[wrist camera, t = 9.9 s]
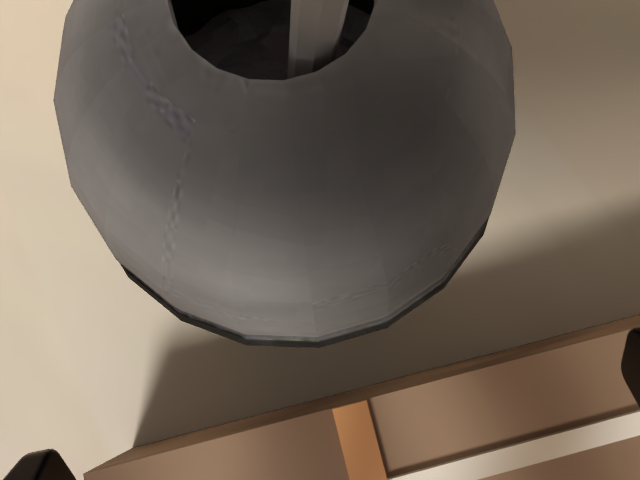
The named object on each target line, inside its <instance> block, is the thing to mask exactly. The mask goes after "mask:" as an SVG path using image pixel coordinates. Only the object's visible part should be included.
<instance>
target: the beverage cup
mask: <svg viewBox="0 0 640 480" xmlns="http://www.w3.org/2000/svg"><path fill="white" fill-rule="evenodd" d="M54 105H55V110H56V115H57V120H58V125H59V130H60V135H61V139H62V144H63V149H64V154H65V159H66V164H67V168H68V173H69V178H70V183H71V187H72V188H73V190H74V192H75V193H76V195H77V197H78V198H79V200H80V201H81V203H82V205H83V206H84V208H85V210H86V211H87V213H88V215H89V216H90V218H91V219H92V221H93V223H94V224H95V226H96V228H97V229H98V231H99V233H100V234H101V236H102V237H103V239H104V241H105V242H106V244H107V246H108V247H109V249H110V250H111V252H112V254H113V255H114V257H115V258H116V260H117V261H119V263H120V264H121V266H122V267H123V269H124V271H125V272H126V274H127V276H128V277H129V278H130V279H131V280H132V281H133V282H135V283H136V284H137V285H138V286H140V287H141V288H142V289H143V290H144V291H146V292H147V293H148V294H149V295H151V296H152V297H153V298H154V299H155V300H157V301H158V302H159V303H160V304H162V305H163V306H164V307H165V308H166V309H168V310H169V311H170V312H171V313H173V314H174V315H175V316H176V317H177V318H179V319H180V320H181V321H183V322H186V323H189V324H191V325H194V326H197V327H199V328H202V329H205V330H207V331H210V332H213V333H216V334H218V335H221V336H224V337H226V338H229V339H232V340H234V341H237V342H240V343H242V344H245V345H252V346H281V347H309V348H320V347H323V346H326V345H330V344H333V343H337V342H340V341H344V340H347V339H350V338H354V337H357V336H361V335H364V334H367V333H371V332H374V331H378V330H381V329H384V328H387V327H389V326H390V325H392V324H393V323H394V322H396V321H397V320H399V319H400V318H402V317H403V316H405V315H406V314H407V313H409V312H410V311H412V310H413V309H415V308H416V307H417V306H419V305H420V304H422V303H423V302H425V301H426V300H428V299H429V298H430V297H432V296H433V295H435V294H436V293H438V292H439V291H441V290H442V289H443V288H444V287H445V286H446V285H447V283H448V282H449V281H450V279H451V278H452V276H453V275H454V274H455V272H456V271H457V270H458V268H459V267H460V266H461V264H462V263H463V262H464V260H465V259H466V258H467V256H468V255H469V253H470V252H471V251H472V249H473V248H474V247H475V245H476V244H477V243H478V241H479V240H480V239H481V237H482V236H483V234H484V232H485V229H486V225H487V222H488V219H489V216H490V214H491V211H492V208H493V204H494V201H495V198H496V195H497V192H498V188H499V185H500V182H501V179H502V176H503V172H504V169H505V166H506V163H507V160H508V156H509V153H510V150H511V147H512V143H513V140H514V137H515V108H514V81H513V60H512V47H511V45H510V42H509V40H508V37H507V35H506V32H505V29H504V27H503V24H502V22H501V19H500V17H499V14H498V11H497V9H496V6H495V4H494V1H493V0H74V1H73V3H72V5H71V7H70V9H69V11H68V13H67V15H66V18H65V23H64V29H63V35H62V43H61V50H60V57H59V65H58V72H57V79H56V86H55V94H54Z"/></svg>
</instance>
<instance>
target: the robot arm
mask: <svg viewBox="0 0 640 480" xmlns="http://www.w3.org/2000/svg"><path fill="white" fill-rule="evenodd" d="M621 372H622V375H623V378H624V380H625V382H626V384H627V386H628V388H629V390H630V391H631V393H632V395H633V397H634V399H635V401H636V403H637V404H638V406H639V408H640V326H639V327H634V328H632V329H631V330H630V331H629V332H628V334H627V338H626V343H625V347H624V351H623V356H622V360H621ZM3 480H76V479H75V477H74V475H73V474H72V472H71V471H70V469H69V468H68V466H67V465H66V463H65V462H64V460H63V459H62V457H61V456H60V454H59V453H58V452H57V451H56V450H54V449H46V450H41V451H37V452H32V453H28V454H26V455H25V456H23V457H22V458H21V459H20V460H19V461H18V463H17V464H16V465H15V466H14V467H13V468H12V470H11V471H10V472H9V473H8V474H7V475H6V477H5V478H4V479H3Z"/></svg>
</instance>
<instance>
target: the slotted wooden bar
mask: <svg viewBox="0 0 640 480" xmlns="http://www.w3.org/2000/svg"><path fill="white" fill-rule="evenodd" d="M639 326H640V315H637V316H633V317H629V318H625V319H622V320H618V321H614V322H610V323H606V324H603V325H599V326H595V327H591V328H587V329H584V330H580V331H576V332H572V333H568V334H565V335H561V336H557V337H553V338H549V339H546V340H542V341H538V342H534V343H530V344H527V345H523V346H519V347H515V348H511V349H508V350H504V351H500V352H496V353H492V354H489V355H485V356H481V357H477V358H473V359H470V360H466V361H462V362H458V363H454V364H451V365H447V366H443V367H439V368H435V369H432V370H428V371H424V372H420V373H416V374H413V375H409V376H405V377H401V378H397V379H394V380H390V381H386V382H382V383H378V384H375V385H371V386H367V387H363V388H359V389H356V390H352V391H348V392H344V393H340V394H337V395H333V396H329V397H325V398H321V399H318V400H314V401H310V402H306V403H302V404H299V405H295V406H291V407H287V408H283V409H280V410H276V411H272V412H268V413H265V414H261V415H257V416H253V417H249V418H246V419H242V420H238V421H234V422H230V423H227V424H223V425H219V426H215V427H211V428H208V429H204V430H200V431H196V432H192V433H189V434H185V435H181V436H177V437H173V438H170V439H166V440H162V441H158V442H154V443H151V444H147V445H143V446H139V447H135V448H132V449H130V450H128V451H126V452H124V453H122V454H120V455H118V456H116V457H115V458H113V459H111V460H109V461H107V462H105V463H103V464H101V465H99V466H97V467H95V468H94V469H92V470H90V471H88V472H86V473H84V474H83V475H84V480H640V408H639V406H638V404H637V403H636V401H635V399H634V397H633V395H632V393H631V391H630V390H629V388H628V386H627V384H626V382H625V380H624V378H623V375H622V372H621V360H622V356H623V351H624V347H625V343H626V338H627V334H628V332H629V331H630V330H631V329H632V328H634V327H639Z"/></svg>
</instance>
